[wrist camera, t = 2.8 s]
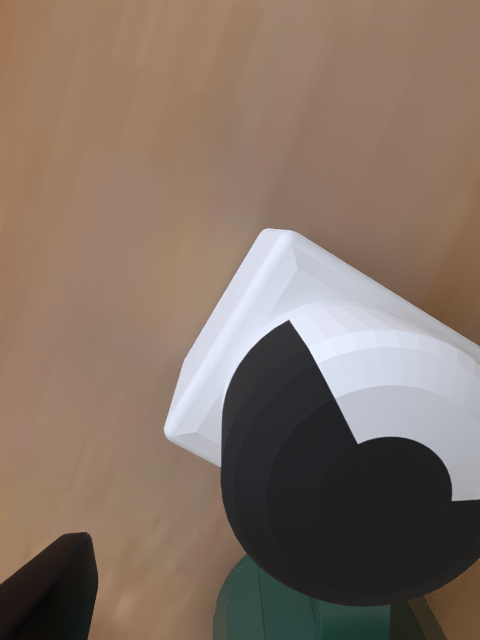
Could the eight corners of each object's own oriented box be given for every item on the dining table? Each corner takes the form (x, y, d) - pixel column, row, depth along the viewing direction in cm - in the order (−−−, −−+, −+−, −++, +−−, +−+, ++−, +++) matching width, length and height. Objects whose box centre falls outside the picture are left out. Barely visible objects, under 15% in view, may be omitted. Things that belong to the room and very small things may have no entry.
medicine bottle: (313, 437, 21) (427, 709, 9) (180, 364, 20) (119, 563, 8) (400, 309, 20) (656, 433, 8) (264, 224, 19) (330, 225, 7)
